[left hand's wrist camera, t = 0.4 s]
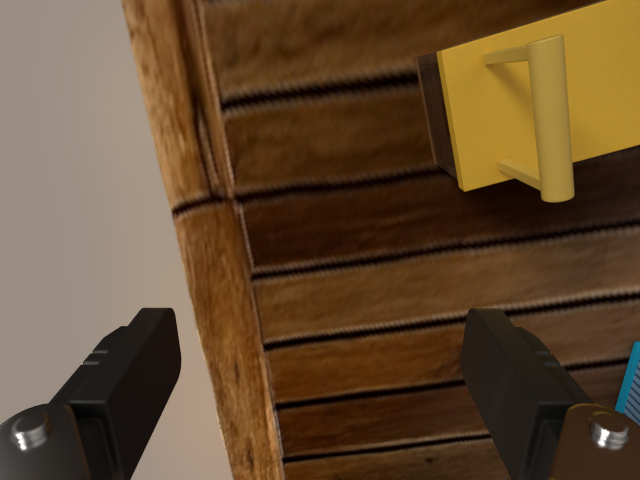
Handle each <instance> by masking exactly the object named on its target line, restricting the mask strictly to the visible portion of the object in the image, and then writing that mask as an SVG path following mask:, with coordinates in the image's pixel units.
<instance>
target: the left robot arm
mask: <svg viewBox="0 0 640 480" xmlns="http://www.w3.org/2000/svg"><path fill="white" fill-rule="evenodd" d="M180 370H181V351H180V345H179V338H178V331H177V324H176V317H175V313H174V310H173V309H172V308H142V309H141V310H140V311H139V312H138V314H137V315H136V316H135V317H134V319H133V320H132V321H131V323H130V324H129V325H128V326H121V327H119V328H118V329H116V330H115V331H113V332H112V333H110V334H109V335H107V336H106V337H104V338H103V339H102V340H101V342H100V343H99V344H98V345H97V346H96V348H95V349H94V350H93V353H92V354H90V355H89V356H88V357H87V358H86V359H85V361H84V362H83V365H80V366H79V368H78V369H77V370H76V371H75V372H74V374H73V375H72V376H71V377H70V378H69V380H68V381H67V382H66V383H65V384H64V385H63V387H62V388H61V389H60V390H59V391H58V393H57V394H56V395H55V396H54V397H53V399H52V400H51V401H50V402H49V403H48V404H42V405H38V406H34V407H31V408H28V409H26V410H24V411H22V412H20V413H18V414H16V415H14V416H13V417H11V418H9V419H8V420H7V421H5V422H4V423H3V424H1V425H0V480H130V479H131V477H132V475H133V473H134V471H135V469H136V467H137V464H138V462H139V460H140V458H141V456H142V454H143V452H144V450H145V448H146V446H147V443H148V441H149V439H150V437H151V435H152V433H153V431H154V429H155V427H156V425H157V422H158V420H159V418H160V416H161V414H162V412H163V410H164V408H165V406H166V404H167V401H168V399H169V397H170V395H171V393H172V391H173V389H174V387H175V385H176V383H177V380H178V378H179V374H180ZM461 370H462V375H463V378H464V381H465V383H466V385H467V387H468V389H469V391H470V393H471V395H472V398H473V400H474V402H475V404H476V406H477V408H478V410H479V412H480V414H481V416H482V418H483V420H484V422H485V425H486V427H487V429H488V431H489V433H490V435H491V437H492V439H493V441H494V443H495V445H496V447H497V449H498V452H499V454H500V456H501V458H502V460H503V462H504V464H505V466H506V468H507V470H508V472H509V474H510V476H511V479H512V480H640V425H639V424H638V423H636V422H635V421H634V420H632V419H631V418H629V417H628V416H626V415H624V414H622V413H620V412H618V411H616V410H614V409H611V408H609V407H606V406H602V405H598V404H594V403H593V402H592V400H591V399H590V398H589V397H588V396H587V394H586V393H585V392H584V391H583V390H582V389H581V387H580V386H579V385H578V384H577V383H576V382H575V380H574V379H573V378H572V377H571V376H570V374H569V373H568V372H567V371H566V370H565V369H564V367H563V366H560V363H559V362H558V360H557V359H556V358H555V357H554V356H553V355H551V354H550V351H549V350H548V349H547V347H546V346H545V345H544V344H543V343H542V342H541V340H540V339H539V338H537V337H536V336H534V335H533V334H531V333H530V332H528V331H527V330H525V329H524V328H522V327H515V326H514V325H513V324H512V323H511V321H510V320H509V319H508V318H507V316H506V315H505V314H504V312H503V311H502V310H501V309H470V310H469V312H468V314H467V319H466V326H465V333H464V339H463V346H462V353H461Z"/></svg>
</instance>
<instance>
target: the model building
mask: <svg viewBox="0 0 640 480" xmlns="http://www.w3.org/2000/svg"><path fill="white" fill-rule="evenodd" d="M615 410H616V411H618V412H620V413H622V414H624V415H626V416H628V417H629V418H631V419H632V420H634V421H635V422H636V423H638V424H639V425H640V341H635V342H634V346H633V349H632V353H631V356H630V359H629V363H628V366H627V370H626V373H625V377H624V380H623V383H622V387H621V390H620V394H619V397H618V401H617V404H616V408H615Z"/></svg>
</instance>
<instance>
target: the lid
mask: <svg viewBox="0 0 640 480" xmlns="http://www.w3.org/2000/svg"><path fill="white" fill-rule="evenodd" d="M437 59H438V65H439V71H440V77H441V83H442V89H443V95H444V101H445V107H446V113H447V119H448V124H449V130H450V136H451V142H452V148H453V154H454V160H455V166H456V172H457V178H458V184H459V188H461V189H462V190H463V191H465V192H466V191H469V190H473V189H477V188H480V187H484V186H488V185H492V184H495V183H499V182H503V181H506V180H510V179H514V178H516V179H518V180H520V181H522V182H524V183H526V184H528V185H530V186H532V187H534V188H536V189H538V190H540V191H541V198H542V200H543V201H546V202H562V201H566V200H569V199H571V198H573V197H574V180H573V165H572V163H573V162H577V161H581V160H585V159H588V158H592V157H596V156H600V155H603V154H607V153H611V152H614V151H618V150H622V149H626V148H629V147H633V146H637V145H640V0H606V1H602V2H599V3H596V4H593V5H589V6H586V7H583V8H580V9H576V10H573V11H570V12H566V13H563V14H560V15H557V16H553V17H550V18H547V19H543V20H540V21H537V22H534V23H530V24H527V25H524V26H520V27H517V28H514V29H511V30H507V31H504V32H501V33H497V34H494V35H491V36H488V37H484V38H481V39H478V40H474V41H471V42H468V43H465V44H461V45H458V46H455V47H451V48H448V49H445V50H442V51H438V52H437Z"/></svg>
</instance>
